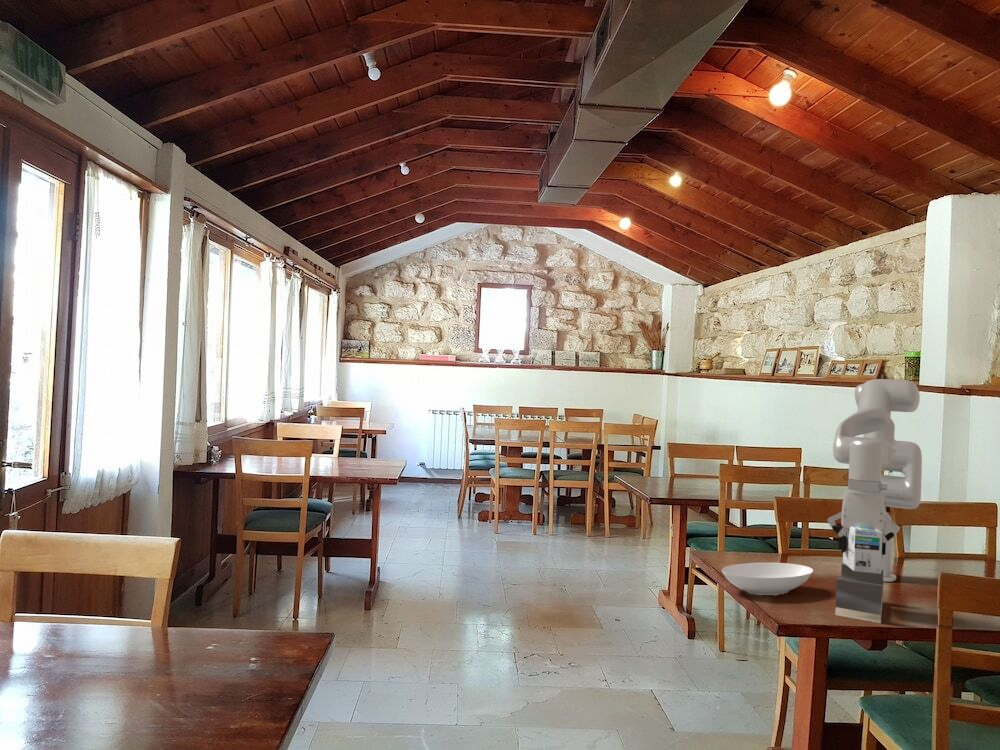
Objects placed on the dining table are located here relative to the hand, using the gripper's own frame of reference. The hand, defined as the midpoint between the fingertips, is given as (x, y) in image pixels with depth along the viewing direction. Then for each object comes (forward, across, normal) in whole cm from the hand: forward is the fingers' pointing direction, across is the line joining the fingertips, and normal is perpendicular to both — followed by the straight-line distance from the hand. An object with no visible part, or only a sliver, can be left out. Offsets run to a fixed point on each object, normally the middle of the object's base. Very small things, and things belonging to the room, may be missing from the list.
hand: (861, 554), depth 182 cm
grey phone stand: (+14, 0, 0) cm, 14 cm away
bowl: (+15, +23, -2) cm, 27 cm away
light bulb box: (+4, 0, 0) cm, 4 cm away
